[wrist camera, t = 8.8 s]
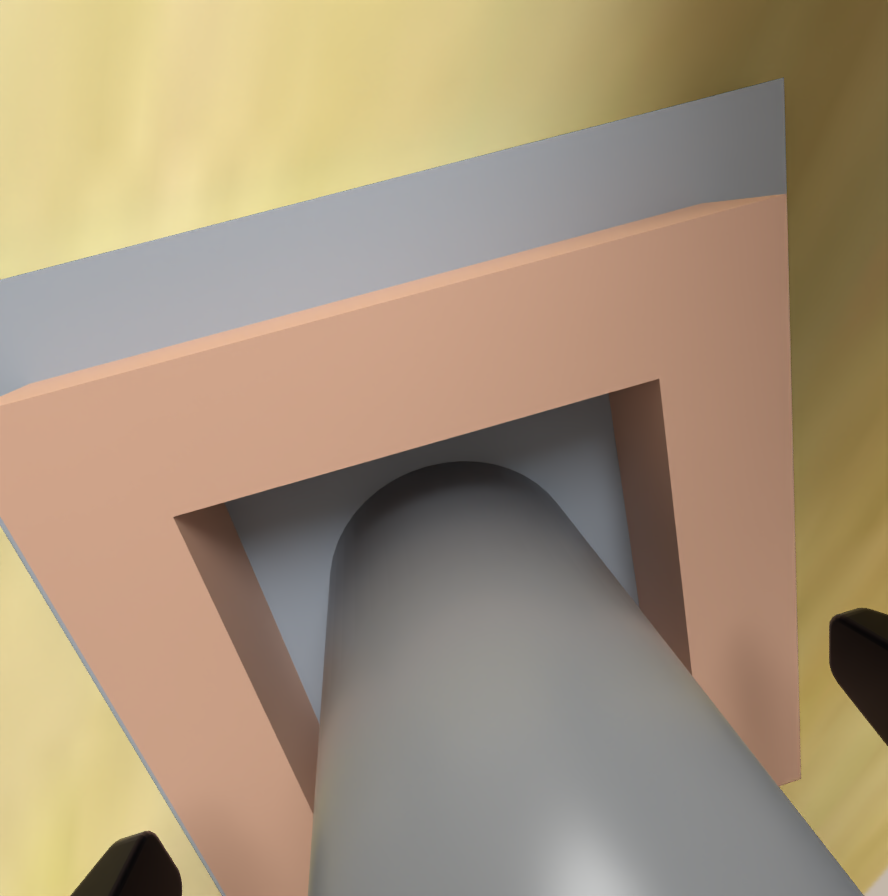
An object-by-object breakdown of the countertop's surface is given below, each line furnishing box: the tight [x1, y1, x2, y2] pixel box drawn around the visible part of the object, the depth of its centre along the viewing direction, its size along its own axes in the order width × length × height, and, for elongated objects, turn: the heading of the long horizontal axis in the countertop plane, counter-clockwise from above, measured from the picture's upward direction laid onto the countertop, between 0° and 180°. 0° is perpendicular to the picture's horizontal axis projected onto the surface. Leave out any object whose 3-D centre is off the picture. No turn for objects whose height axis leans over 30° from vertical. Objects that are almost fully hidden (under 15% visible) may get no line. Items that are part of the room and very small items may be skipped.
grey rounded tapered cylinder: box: [308, 461, 864, 896], centre depth 7 cm, size 5×5×9 cm
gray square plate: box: [0, 78, 801, 896], centre depth 10 cm, size 14×14×3 cm
